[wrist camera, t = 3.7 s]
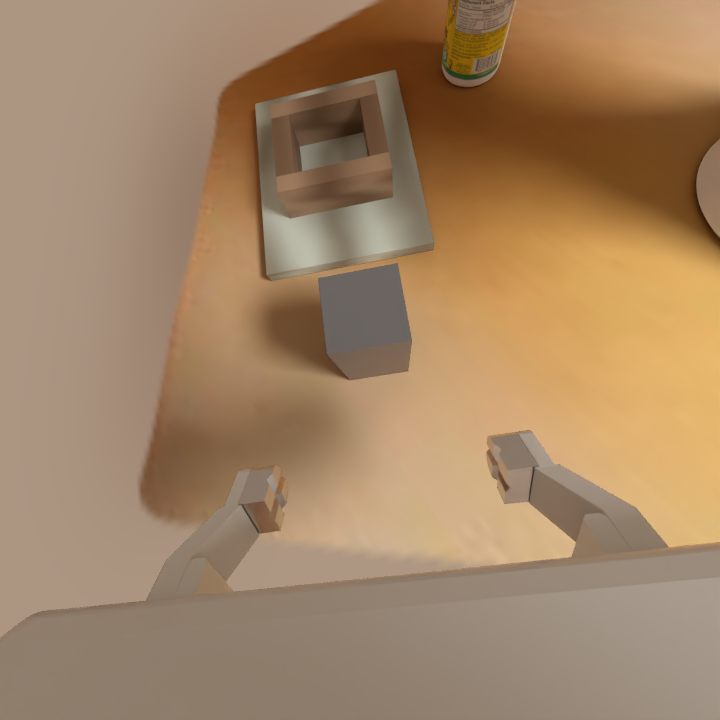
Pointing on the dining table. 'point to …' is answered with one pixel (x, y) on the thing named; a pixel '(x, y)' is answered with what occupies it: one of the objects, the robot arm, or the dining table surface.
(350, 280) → the plug block
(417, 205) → the socket holder
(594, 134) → the dining table surface
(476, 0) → the supplement bottle
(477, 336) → the dining table surface
